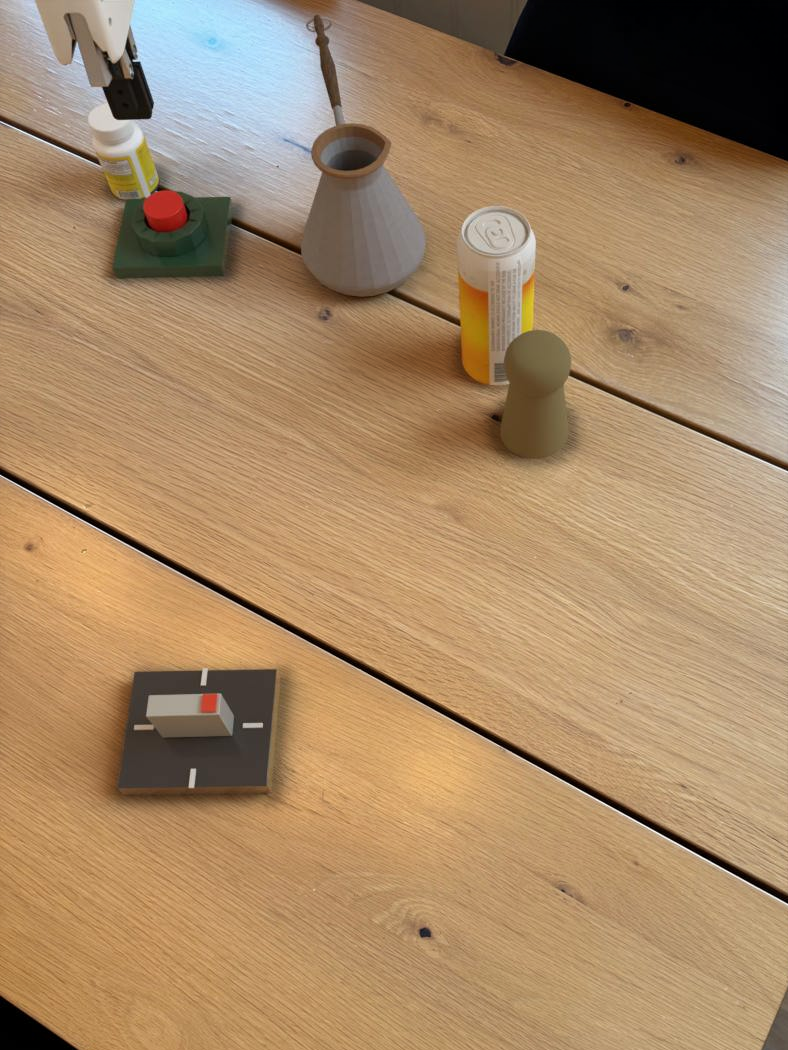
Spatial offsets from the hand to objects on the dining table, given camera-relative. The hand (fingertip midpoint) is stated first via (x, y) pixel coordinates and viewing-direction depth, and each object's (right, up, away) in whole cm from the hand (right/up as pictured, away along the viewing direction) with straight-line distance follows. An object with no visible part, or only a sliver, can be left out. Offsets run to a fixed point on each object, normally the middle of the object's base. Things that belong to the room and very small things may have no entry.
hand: (134, 112), depth 87 cm
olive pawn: (+33, -27, +2) cm, 43 cm away
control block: (0, -7, +13) cm, 14 cm away
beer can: (+30, -20, +6) cm, 36 cm away
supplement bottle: (-5, 0, +17) cm, 17 cm away
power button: (0, -5, +10) cm, 11 cm away
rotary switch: (+9, -51, -10) cm, 53 cm away
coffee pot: (+17, -5, +14) cm, 22 cm away
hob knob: (+9, -50, -12) cm, 52 cm away
